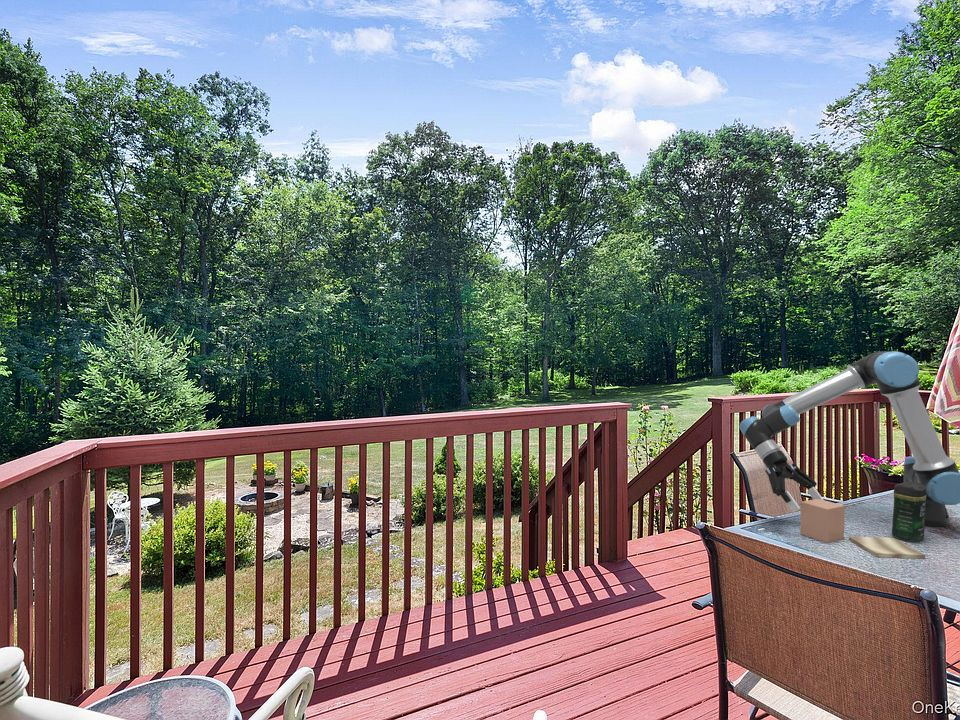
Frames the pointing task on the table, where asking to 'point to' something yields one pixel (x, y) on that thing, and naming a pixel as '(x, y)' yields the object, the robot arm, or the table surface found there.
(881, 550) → the pad
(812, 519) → the cover
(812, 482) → the robot arm
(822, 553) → the table surface
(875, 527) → the table surface
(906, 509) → the coffee jar
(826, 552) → the table surface
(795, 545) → the table surface
